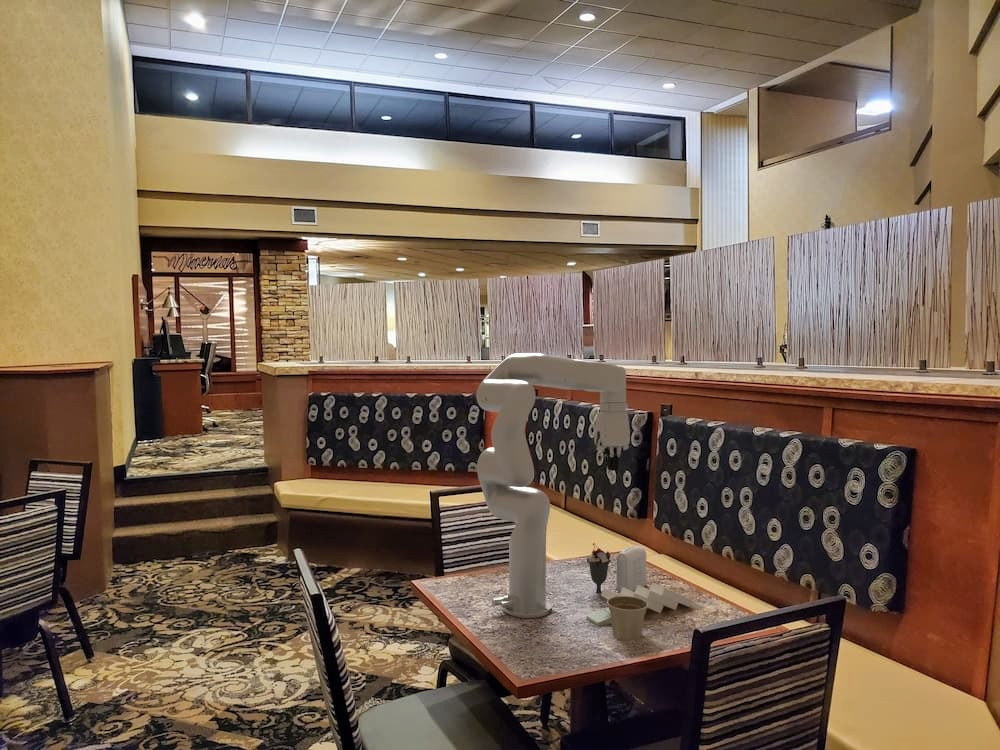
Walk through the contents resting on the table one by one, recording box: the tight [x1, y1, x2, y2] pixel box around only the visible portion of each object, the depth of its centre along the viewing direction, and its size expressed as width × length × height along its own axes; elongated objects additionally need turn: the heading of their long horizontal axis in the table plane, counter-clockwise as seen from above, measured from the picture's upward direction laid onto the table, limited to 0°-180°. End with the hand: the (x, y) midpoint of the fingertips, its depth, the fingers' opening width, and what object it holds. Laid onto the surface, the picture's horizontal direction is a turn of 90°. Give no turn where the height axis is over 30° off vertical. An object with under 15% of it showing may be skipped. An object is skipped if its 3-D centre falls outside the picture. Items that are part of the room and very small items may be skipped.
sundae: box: [586, 542, 612, 595], centre depth 184 cm, size 7×7×15 cm
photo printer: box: [616, 545, 647, 592], centre depth 189 cm, size 10×4×12 cm, turn 134°
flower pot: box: [606, 596, 648, 642], centre depth 155 cm, size 9×9×9 cm
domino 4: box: [648, 581, 693, 607], centre depth 173 cm, size 2×5×10 cm
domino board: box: [644, 601, 706, 621], centre depth 172 cm, size 23×9×1 cm, turn 116°
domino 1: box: [600, 587, 622, 600], centre depth 167 cm, size 2×5×10 cm
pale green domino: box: [585, 606, 612, 627], centre depth 165 cm, size 2×5×10 cm
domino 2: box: [619, 587, 663, 613], centre depth 169 cm, size 2×5×10 cm
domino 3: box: [634, 585, 678, 610], centre depth 171 cm, size 2×5×10 cm
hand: (612, 469), depth 200 cm, fingers closed
